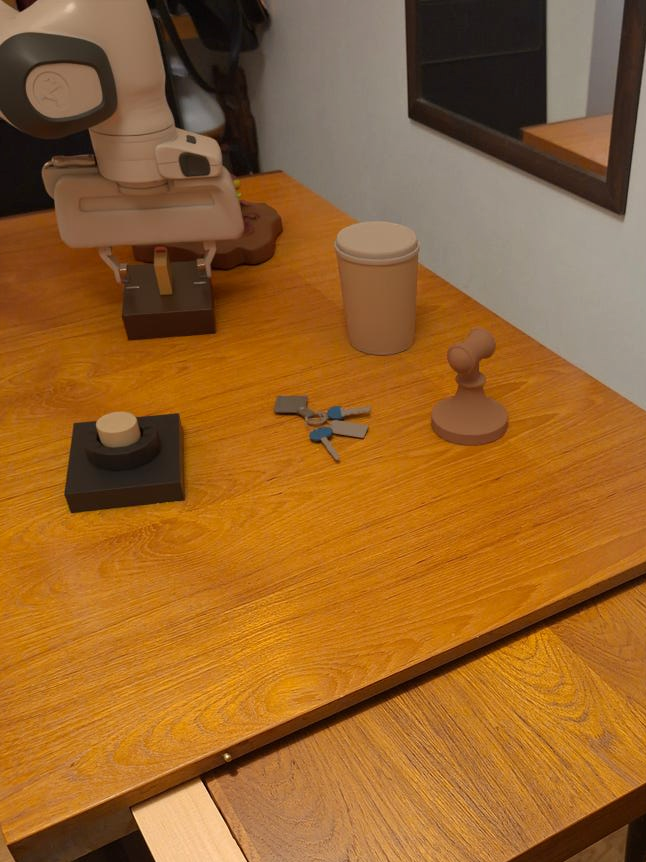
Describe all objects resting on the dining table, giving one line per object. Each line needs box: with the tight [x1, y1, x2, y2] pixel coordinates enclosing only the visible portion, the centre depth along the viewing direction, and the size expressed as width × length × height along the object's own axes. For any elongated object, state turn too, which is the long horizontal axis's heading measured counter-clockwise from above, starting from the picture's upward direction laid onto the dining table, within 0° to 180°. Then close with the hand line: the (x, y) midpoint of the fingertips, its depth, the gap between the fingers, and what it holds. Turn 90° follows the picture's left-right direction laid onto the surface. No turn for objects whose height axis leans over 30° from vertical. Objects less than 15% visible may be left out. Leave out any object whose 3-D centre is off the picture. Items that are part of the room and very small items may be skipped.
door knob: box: [430, 326, 509, 446], centre depth 91 cm, size 8×10×8 cm
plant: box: [131, 171, 283, 270], centre depth 121 cm, size 20×20×11 cm
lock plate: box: [121, 261, 217, 341], centre depth 109 cm, size 10×14×3 cm
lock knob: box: [153, 247, 173, 295], centre depth 107 cm, size 5×1×4 cm, turn 13°
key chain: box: [273, 395, 372, 461], centre depth 93 cm, size 14×8×1 cm, turn 40°
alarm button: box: [96, 411, 141, 448], centre depth 83 cm, size 4×4×2 cm
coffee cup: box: [333, 220, 421, 356], centre depth 102 cm, size 9×9×12 cm
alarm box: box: [63, 412, 186, 514], centre depth 85 cm, size 10×12×4 cm
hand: (165, 278), depth 107 cm, fingers open, 8 cm apart
